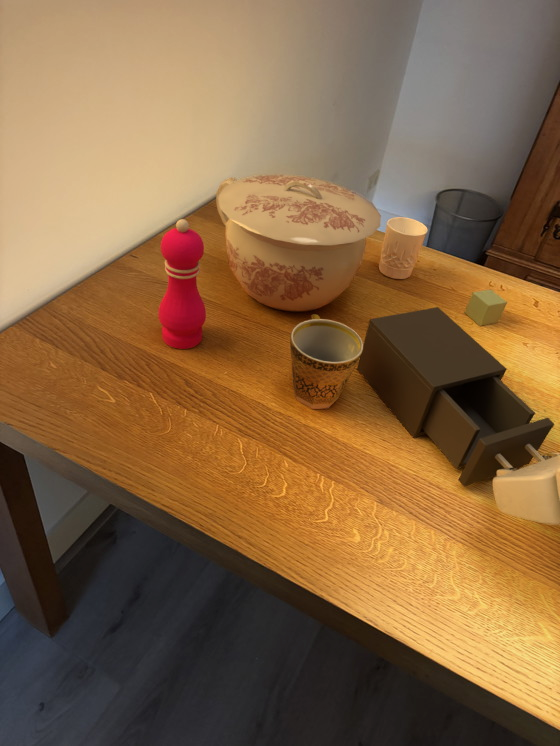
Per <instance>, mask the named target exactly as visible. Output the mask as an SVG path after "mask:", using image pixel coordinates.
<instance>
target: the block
mask: <svg viewBox="0 0 560 746" xmlns="http://www.w3.org/2000/svg"><path fill="white" fill-rule="evenodd" d="M507 304H508V301H507V300H505V299H504V298H503V297H501V296H500V295H499V294H497V293H496V292H495V291H494V290H492V289H491V288H490V289H483V290H479V291H473V292H471V295H470V298H469V300H468V303H467V305H466V308H465V310H464V314H465V315H466V316H467V317H468V318H470V319H471V320H472V321H474V322H475V324H477V325H478V326H479V327H482V326H487V325H492V324H498V323H499V322H500V320H501V317H502V315H503V313H504V311H505V308H506V307H507Z"/></svg>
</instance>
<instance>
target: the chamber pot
mask: <svg viewBox="0 0 560 746" xmlns="http://www.w3.org/2000/svg"><path fill="white" fill-rule="evenodd" d="M215 203H216V209H217V212H218V215H219V216H220V219H221V222H222V223H223V225H224V226H225V231H224V240H225V241H224V242H225V245H226V252H227V261H228V265H229V269H230V271H231V272H232V274H233V276H234V277H235V278H236V280H237V282H238V283H239V285H240V286H241V288H242V289H243V291H245V293H246V294H247V295H248V296H249V297H251V298H252V299H253V300H255V301H257V302H258V303H259V304H262V305H264V306H267V307H269V308H272V309H276V310H279V311H285V312H309V311H314V310H318V309H321V308H322V307H324V306H326V305H329V304H330V303H332V302H334V301H335V300H336V299H337V298H338V297H339V296H340V295H341V294H342V293H344V292H345V291H346V290H347V288H349V286H351V284H352V283H353V282H354V281H355V278H356V276H357V275H358V272H359V270H360V268H361V266H362V264H363V260H364V257H365V253H366V246H367V238H369V237H371V236H373V234H375V232H376V231H377V230H378V229H379V228H380V227H381V222H382V221H381V220H382V215H381V213H380V211H379V210H378V208H377V206H376V205H375V204H374V202H372V201H371V200H369V199H368V198H367V197H366V196H365V195H363V194H361V192H359V191H357V190H354V189H352V188H349V187H347V186H345V185H343V184H340V183H337V182H334V181H330V180H327V179H323V178H319V177H313V176H309V175H302V174H293V173H280V172H279V173H278V172H277V173H275V172H274V173H261V174H260V173H259V174H254V175H249V176H245V177H240V178H238V179H237V178H236V177H234V176H231V177H228V178H226V179H224V180H223V181H222V182H221V183H220V185H219V186H218V188H217V190H216V198H215Z"/></svg>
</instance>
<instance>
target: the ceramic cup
mask: <svg viewBox="0 0 560 746" xmlns="http://www.w3.org/2000/svg"><path fill="white" fill-rule="evenodd" d="M289 335H290V337H289V338H290V340H289V345H290V346H289V347H290V358H291V368H292V369H291V372H292V373H291V375H292V390H293V392H294V397H295V399H296V401H297V402H299V403H301V404H302V405H304V406H306V407H308V408H309V409H312V410H319V409H321V410H322V409H323V410H324V409H325V410H326V409H330V407H331V406H332V405H333V404H334V403H335V402H337V400H338V399H339V398H340V396H341V394H342V392H343V390H344V388H345V386H346V384H347V383H348V380H349V378H350V376H351V374H352V372H353V371H354V370H355V368H356V366H357V365H358V362H359V359H360V356H361V353H362V351H363V344H364V341H363V340H362V338H361V336H360V335H359V334H358V332H356V331H355V330H354V329H353V328H351V327H349V326H348V325H346V324H345V323H342V322H339V321H336V320H331V319H325V318H321V317H320V316H319V315H318V314H315V313H314V314H311V316H310V319H308V320H304V321H301V322H299V323H297V324H296V325H295V326H294V327H293V328H292V330H291V332H290V334H289Z"/></svg>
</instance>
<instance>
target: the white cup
mask: <svg viewBox="0 0 560 746" xmlns="http://www.w3.org/2000/svg"><path fill="white" fill-rule="evenodd" d="M427 234H428V227H427V226H426V225H425V224H423V223H422V222H421V221H418V220H416V219H414V218H410V217H404V216H396V217H392V218H391V217H390V219H388V220H387V222H386V227H385V231H384V237H383V241H382V246H381V251H380V259H379V263H378V270H379V272H380V273H381V274H383V275H384V276H385V277H388V278H391V279H394V280H406V279H408V278H410V277H411V275H412V273H413V269H414V267H415V265H416V263H417V261H418V258H419V255H420V253H421V251H422V248H423V245H424V242H425V239H426V236H427Z"/></svg>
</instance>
